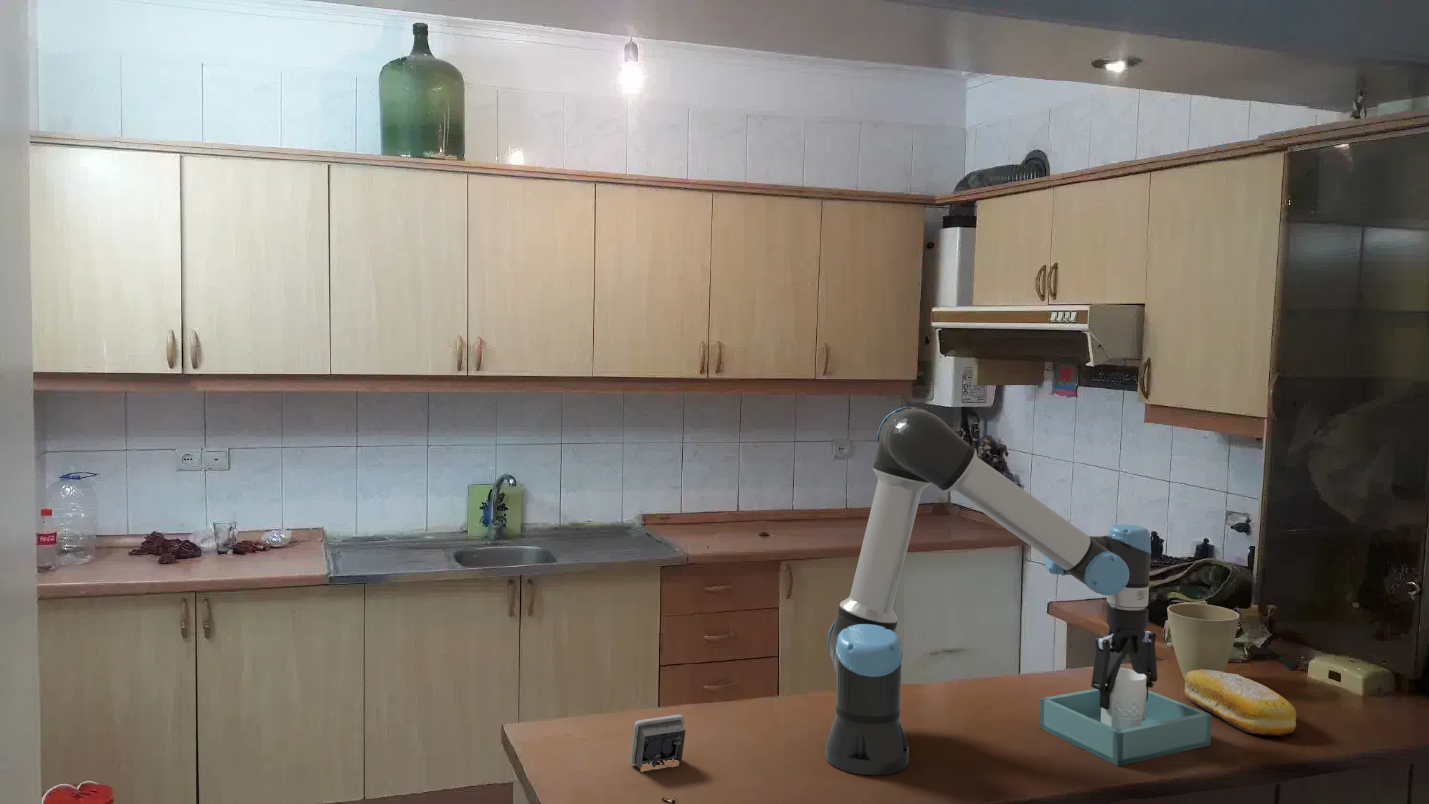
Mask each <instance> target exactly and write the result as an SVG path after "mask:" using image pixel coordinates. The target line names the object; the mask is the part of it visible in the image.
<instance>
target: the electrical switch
mask: <svg viewBox="0 0 1429 804" xmlns="http://www.w3.org/2000/svg"><path fill="white" fill-rule="evenodd" d="M684 724H685V718H684V716H683V715H682V714H681V713H680V714H673V715H668V716H667V715H666V716H661V717H660V716H659V717H653V718H652V717H651V718H646V719H638V720H636V721H635V722H634V723H633V731H632V732H633V733H632V742H631V750H630V758H629V759H630V760H629V761H630V764H636V765H638V767H639V768H640V769H641V767H642V764H646V763H648V764H650V762H652V764H653V763H654V764H657V763H655V762H657V761H660V762H661V763H663V762H662V761H663V760H665V761H667V760H672V759H673V758H674V760H678V761H679V762H680V763H681V764H682V761H683V752H684V744H685V738H686V729H685V728H684ZM660 762H659V763H660ZM654 764H653V765H654ZM638 767H637V768H638ZM639 768H638V769H639Z"/></svg>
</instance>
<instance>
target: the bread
mask: <svg viewBox="0 0 1429 804" xmlns="http://www.w3.org/2000/svg"><path fill="white" fill-rule="evenodd" d="M1183 680H1184V683H1185V684H1184V696H1185V697H1186V699H1187V700H1189V701H1190V702H1192V703H1193V704H1194V705H1196V706H1198V707H1200V708H1201V709H1204V711H1207V713H1209V714H1211V715H1214V716H1215V717H1216V718H1217V719H1218V720H1220V721H1222V722H1224V723H1226V724H1228V725H1230V726H1232V727H1234V728H1236V729H1238V731H1239V730H1240V731H1241V732H1244V733H1246V734H1252V735H1253V734H1254V735H1255V734H1256V735H1263V736H1271V737H1276V736H1277V737H1283V736H1284V735H1288V734H1291V733H1294V731H1295V729H1296V727H1297V723H1296V720H1297V710H1296V707H1294V706H1293V704H1292V703H1290V701H1288V700H1287V698H1285V697H1283V696H1282V695H1281V694H1279V693H1277V692H1276V691H1275V690H1273V689H1271V688H1269V687H1268V686H1265V685H1263V684H1262V683H1259V682H1257V681H1254V680H1252V679H1251V678H1246V677H1244V676H1242V675H1240V674H1239V673H1228V672H1225V671H1224V672H1221V671H1213V670H1203V669H1202V670H1194V671H1190V672H1188V673H1187V675H1186V677H1185V678H1183Z"/></svg>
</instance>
